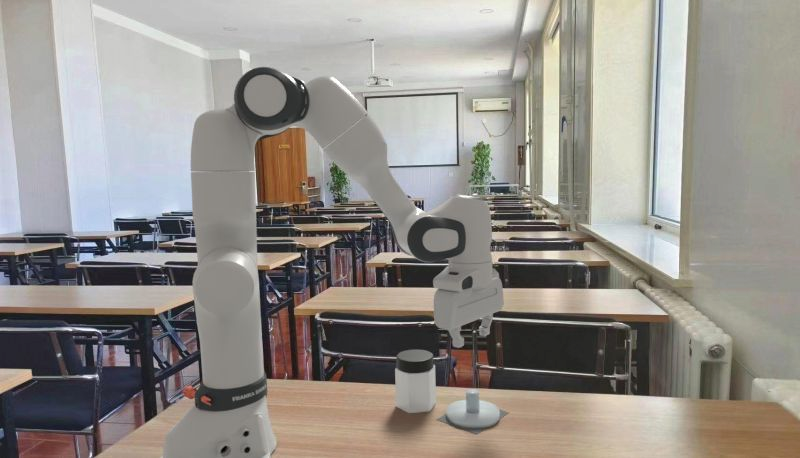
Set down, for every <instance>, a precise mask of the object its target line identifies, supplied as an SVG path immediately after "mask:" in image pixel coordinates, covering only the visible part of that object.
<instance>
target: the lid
mask: <svg viewBox="0 0 800 458" xmlns="http://www.w3.org/2000/svg"><path fill="white" fill-rule="evenodd" d="M499 410H500V409H499V407H498V406H497V405H495V404H494V403H492V402H489V401H485V400H483V399H482V400H481V399H480V391H479V390H478V389H473V388H472V389H467V390H466V391H465V399H461V400H456V401H453V402H452V403H450V404H449V405H448V406H447V407H446V413H445V414H447V419H448V420H449V421H450V422H451V423H453V424H455V425H457V426H460V427H464V428H485V427H487V428H489V427H492V426H494V425H496V424H497V423H498V422H500V411H499Z"/></svg>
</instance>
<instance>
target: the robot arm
mask: <svg viewBox="0 0 800 458" xmlns="http://www.w3.org/2000/svg"><path fill="white" fill-rule="evenodd" d="M233 92H234V93H233V102H234V103H233V104H232V105H231V106H230V107H228V108H227V107H226V108H225V109H224V108H223V109H222V108H217V109H210V110H208V111H205V112H203V113H201V114H200V115H199V116H198V117H196V119H195V121H194V124H193V130H192V136H191V144H190V145H191V146H190V179H191V181H190V182H191V183H190V184H191V201H192V203H191V204H192V205H191V206H192V218H193V224H194V227H193V228H194V233H195V235H194V236H195V243H196V245H195V246H196V255H197V256H196V257H197V266H196V267H197V268H195V271H194V273H193V277H192V293H193V301H194V310H195V318H196V324H197V331H198V337H199V347H200V358H201V360H200V361H201V373H202V374H201V375H202V380H201V382H200V384H199V387H198V389H197V388H196V387H193V386H191V385H187V386H185V387H184V389H183V390H182V394H183V397H186V398H187V399H189V400H193V399H194V404H193V405H192V406H191V408H190V409H189V410H188V411H187V412H186V413H185V414H184V415H183V416H182V417H181V418H180V419H179V421H178V422H177V423H175V424H174V426H173V427H171V429H170V430H169V431H168V432H167V433H166V435H165V438H164V441H163V445H162V446H163V448H162V455H161V456H160V457H159V458H272V457H271V455H272V453H273V452H274V450H275V449H276V448H277V444H278V442H277V438H276V435H275V433H274V431H273V427H272V424H271V420H270V415H269V409H268V402H267V396H268V382H267V381H268V380H267V373H266V372H265V369H264V352H263V351H264V350H263V349H264V348H263V337H262V335H263V333H262V316H261V297H260V296H261V295H260V279H259V271H258V268H259V267H258V266H259V265H258V244H257V243H258V240H257V239H258V237H257V236H258V235H257V204H256V203H257V201H256V198H257V197H256V174H255V173H256V172H255V171H256V169H255V148H256V145H257V144H256V143H257V142H258V141H261V140H264V139H267V138H272V137H276V136H278V135H281V134H283V133H285V132H286V131H287V130H289V129H290V128H291V127H299V128H301V129H303V130H305V131H306V132H307V133H309V135H310V136H312V138H313V139H314V140H315V141H316V143H317V144H318V145H319V147H320V148H321V149H323V152H324V153H325V154H326V156H327V157H328V158H329V159H330V160H331V161H332V163H334V164H335V165H336V166H337V167H338V168H339V169H340V171H342V172H343V173H345V175H347V176H348V177H349V178H350V179H352V180H353V181H355V182H356V183H357V184H358V185H359V186H360V187H362V189H364V191H366V193H367V194H368V195H369V196H370V198H371V199H372V200H373V202H374V203H375V204H376V207H378V208H379V209H380V211H381V212H382V214H383V215H384V216H385V218H386V219H387V221H388V222H389V225H390V229H391V232H392V237H393V240H394V243H395V244H396V246H397V248H398V249H399V250H400V252H401V251H402V253H404V254H406V255H408V256H409V257H410V256H411V257H413V258H415V259H417V260H418V261H421V262H424V263H435V262H440V261H443V260H444V261H445V260H448V266H446V267H445V268H444V269H443V270H442V271H441V272H440V273H439V274H437V275H436V276H435V277H434V278H433V280H432V285H433V288H434V289H437V290H436V291H435V292H434V296H433V319H434V325H436V327H437V328H439V329H440V330H447V331H448V333H449V335H450V336H451V338H452V346H453V348H457V349H459V348H462V347H463V346H464V345H465V338H464V337H462V336H461V331H462V326H465V325H467V324H470V323H472V322H475V321H478V320H479V319H480V320H481V323H480V326H478V335H479V336H483V337H486V336H488V335H490V333H491V330H490V329H491V326H492V325H491V324H492V322H493V318H494V314H495V313H498V312H500V311H502V310H503V307H504V302H505V301H504V289H503V283H502V280H501V278H500V274H499V272H498V271H497V269H496V268H493V256H492V252H491V244H492V240H493V231H492V228H493V227H492V217H491V216H492V215H491V210H490V207H489V203H488V201H486V200H485V199H484V198H481V197H478V196H474V195H465V194H454V195H451V196H450V197H449V199H447V200H446V201H444V202H443V203H441V204H439V205H438V206H436V207H434V208H432V209H429V210H428V211H425V210H423V209H421V208H419V207H418V206H416V205H415V204H414V203H413V202H412V201H411V199H410V198H409V197H408V195H407V194H406V192H405V191H404V189H403V188H402V187H401V186H400V184H399V183H398V181H397V180H396V179H395V177H394V175H393V174H392V172H391V169H390V167H389V161H388V143H387V141H386V139H385V137H384V135H383V134H382V132H381V129H380V128H379V126H378V125H377V123H376V122H375V120H374V119H373V117H372V116H371V115H370V114H369V112H368V111H367V109H366V108H365V107H364V106H363V104H362V103H361V102H360V101H359V100H358V99H357V98H356V97H355V96H354V94H353V93H352V92H351V91H349V89H347V87H346V86H345V85H343V84H342V83H341V82H340V81H339V80H337V79H336V78H335V77H333V76H331V75H322V76H318V77H315V78H313V79H311V80H310V81H308V82H307V83H305V81H303V80H302V79H300V78H297V77H295V76H293V75H290V74H288V73H286V72H285V71H281V70H280V69H277V68H274V67H270V66H269V67H268V66H259V67H255V68H252V69H250V70H247V71H246V72H245V73H244V74H242V76H241V77H240V78H239V80H238V81H237V83H236V85H235V88H234V91H233Z"/></svg>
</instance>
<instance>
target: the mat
mask: <svg viewBox="0 0 800 458" xmlns="http://www.w3.org/2000/svg"><path fill="white" fill-rule="evenodd" d="M499 411H500V419H502V418H504V417H505V416H507V415H508V414H510V412H508V411H506V410H502V409H499ZM500 419H499V420H500ZM436 421H438V422H441V423H445V424H447V425H449V426H452V427H455V428H458V429H461V430H463V431H466V432H468V433H472V434H474V435H478V434H480V433H481V432H483V431H484V430H486V429H487V428H488V427H485V428H464V427H460V426H457V425H455V424H453V423H451V422H450V421H449V420H448V419H447V413H445V414H443V415H442V416H440V417H438V418H436Z"/></svg>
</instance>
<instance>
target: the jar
mask: <svg viewBox="0 0 800 458" xmlns="http://www.w3.org/2000/svg"><path fill="white" fill-rule="evenodd" d="M434 361H435V360H434V354H433V353H432V352H430V351H429V350H425V349H408V350H403V351H400V352H398V353H397V354H396V367H395V368H394V377H395V403H396V405H395V406H396V408H398V409H400V410H402V411H404V412H406V413H407V414H415V413H425V412H431V411H432V409H433V408H434V406H435V405H436V403H437V394H436V393H437V387H436V384H437V383H436V381H437V380H436V365H435V363H434Z"/></svg>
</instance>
